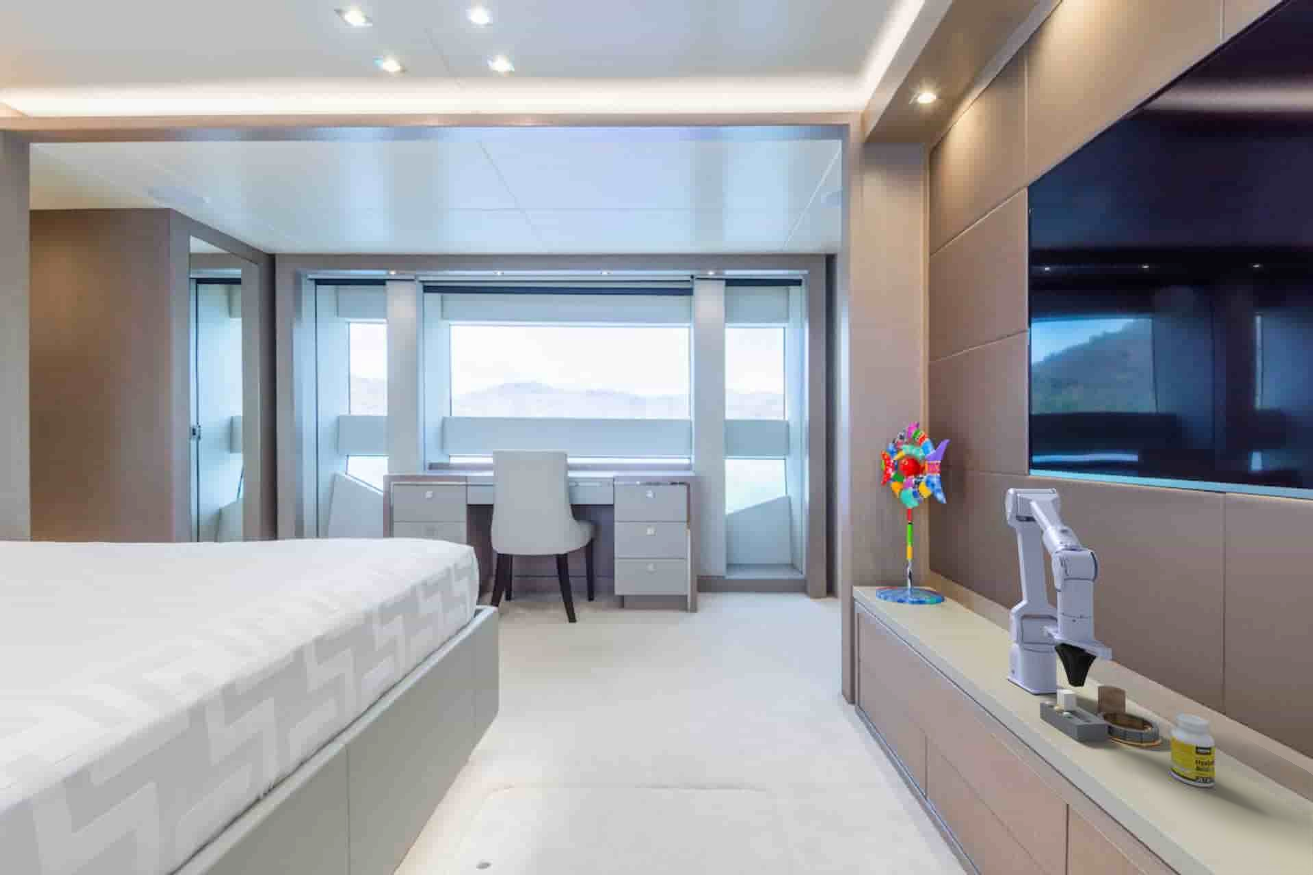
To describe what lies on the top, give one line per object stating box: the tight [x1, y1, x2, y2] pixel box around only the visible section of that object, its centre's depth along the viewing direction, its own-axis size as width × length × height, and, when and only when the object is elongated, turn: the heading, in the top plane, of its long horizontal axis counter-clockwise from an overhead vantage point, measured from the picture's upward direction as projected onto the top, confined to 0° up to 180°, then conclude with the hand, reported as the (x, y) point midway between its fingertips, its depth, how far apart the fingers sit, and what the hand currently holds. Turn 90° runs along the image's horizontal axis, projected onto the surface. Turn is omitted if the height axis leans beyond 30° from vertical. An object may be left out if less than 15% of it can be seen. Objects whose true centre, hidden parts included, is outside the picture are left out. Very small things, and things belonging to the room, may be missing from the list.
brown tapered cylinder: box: [1097, 685, 1127, 714], centre depth 128 cm, size 4×4×5 cm
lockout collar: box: [1096, 711, 1163, 747], centre depth 119 cm, size 10×10×2 cm
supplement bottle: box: [1170, 713, 1216, 788], centre depth 103 cm, size 5×5×10 cm
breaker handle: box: [1056, 688, 1077, 711], centre depth 123 cm, size 2×2×3 cm
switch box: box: [1039, 700, 1109, 742], centre depth 122 cm, size 10×6×4 cm, turn 4°
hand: (1076, 685), depth 121 cm, fingers closed
